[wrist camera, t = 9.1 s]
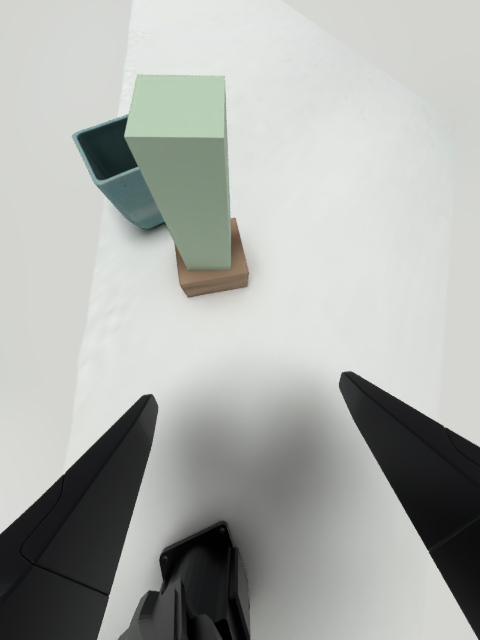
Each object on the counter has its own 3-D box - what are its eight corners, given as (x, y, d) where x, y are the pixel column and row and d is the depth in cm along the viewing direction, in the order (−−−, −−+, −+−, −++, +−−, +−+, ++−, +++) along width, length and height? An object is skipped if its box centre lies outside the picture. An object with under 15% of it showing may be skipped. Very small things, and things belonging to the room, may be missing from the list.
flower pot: (118, 203, 29) (68, 132, 21) (171, 182, 31) (144, 106, 22) (140, 245, 27) (94, 185, 19) (195, 220, 29) (176, 153, 20)
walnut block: (247, 287, 26) (248, 272, 22) (188, 298, 25) (179, 284, 22) (235, 239, 28) (235, 217, 24) (181, 248, 28) (172, 227, 24)
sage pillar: (231, 270, 22) (223, 137, 10) (187, 270, 22) (123, 136, 10) (231, 234, 24) (224, 76, 11) (190, 233, 23) (137, 74, 11)
